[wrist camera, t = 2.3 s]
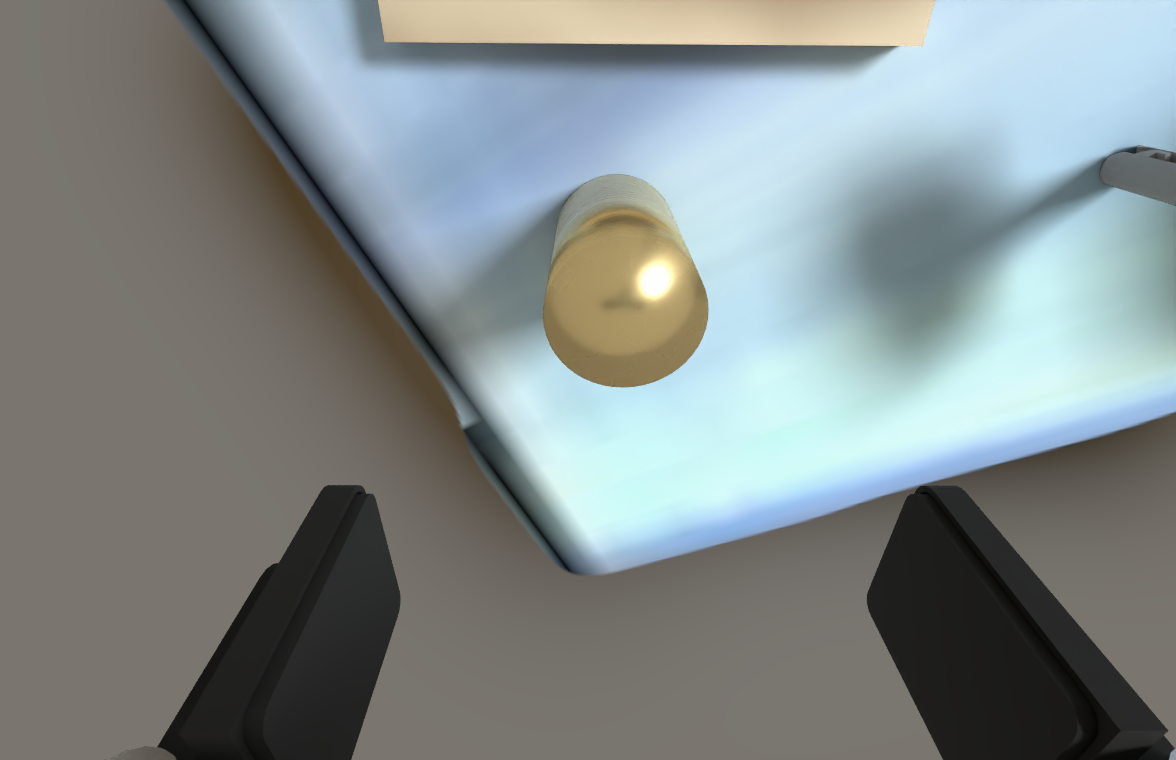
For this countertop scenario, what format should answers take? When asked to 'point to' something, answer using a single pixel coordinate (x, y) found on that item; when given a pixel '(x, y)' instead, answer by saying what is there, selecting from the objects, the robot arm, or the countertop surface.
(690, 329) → the tan cylinder
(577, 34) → the jig plate
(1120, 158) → the mechanical component
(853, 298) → the countertop surface
